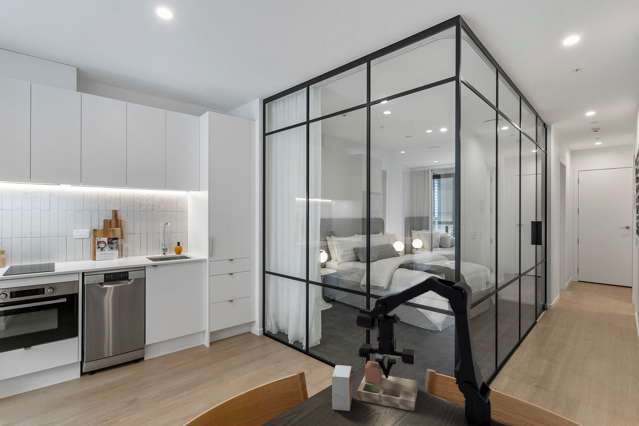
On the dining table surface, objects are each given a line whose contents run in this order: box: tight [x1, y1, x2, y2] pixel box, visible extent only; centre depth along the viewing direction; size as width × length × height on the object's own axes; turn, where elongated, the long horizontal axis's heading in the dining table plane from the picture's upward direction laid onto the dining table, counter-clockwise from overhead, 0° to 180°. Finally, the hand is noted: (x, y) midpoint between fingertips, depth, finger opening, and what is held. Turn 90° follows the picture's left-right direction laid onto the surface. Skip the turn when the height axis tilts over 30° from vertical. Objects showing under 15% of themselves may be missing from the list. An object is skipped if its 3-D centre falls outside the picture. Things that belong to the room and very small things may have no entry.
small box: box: [331, 364, 353, 412], centre depth 104 cm, size 8×6×10 cm
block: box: [364, 360, 383, 384], centre depth 113 cm, size 5×5×5 cm
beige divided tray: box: [356, 374, 418, 412], centre depth 109 cm, size 18×13×3 cm
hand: (387, 377), depth 111 cm, fingers closed
